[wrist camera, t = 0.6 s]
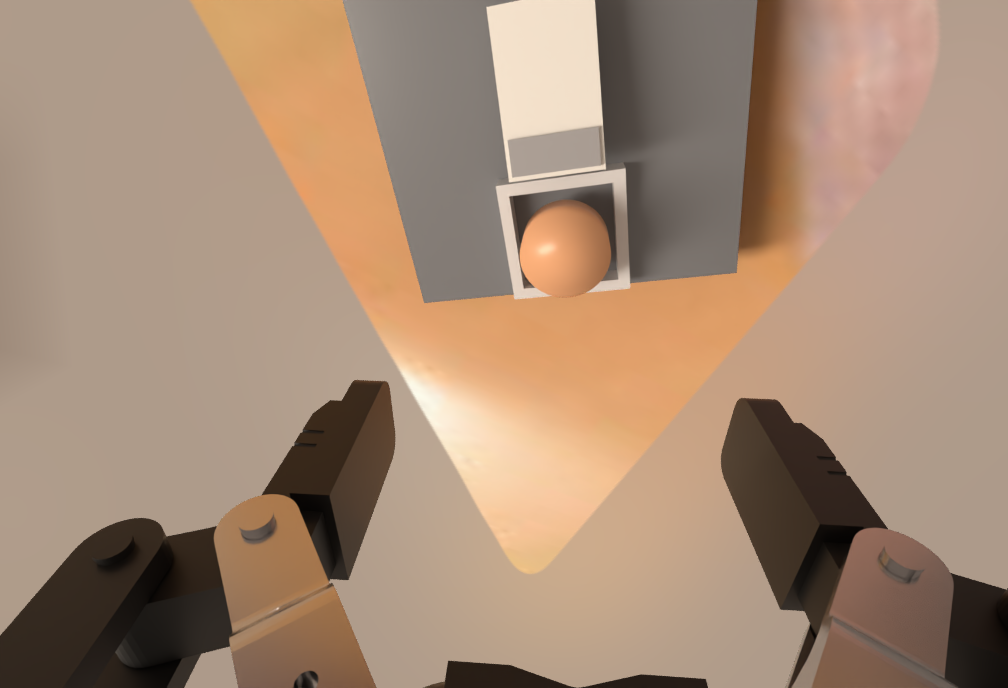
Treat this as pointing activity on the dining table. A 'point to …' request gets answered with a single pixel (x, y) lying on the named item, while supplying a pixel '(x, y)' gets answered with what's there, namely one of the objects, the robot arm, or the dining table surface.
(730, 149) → the control panel
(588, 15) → the rocker switch
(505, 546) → the dining table surface
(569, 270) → the push button
